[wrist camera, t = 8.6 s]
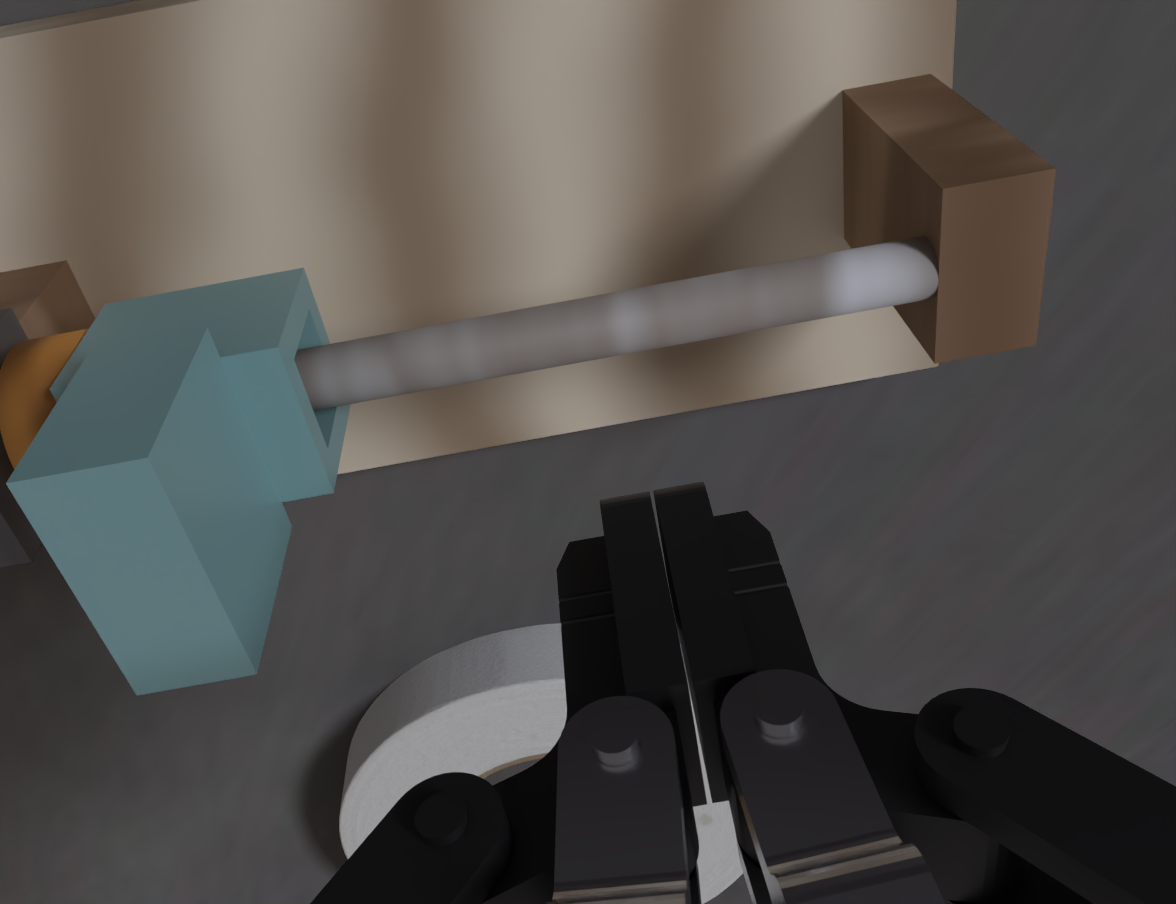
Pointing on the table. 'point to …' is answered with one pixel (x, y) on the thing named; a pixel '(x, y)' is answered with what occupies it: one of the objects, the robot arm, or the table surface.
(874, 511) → the table surface
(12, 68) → the cable board
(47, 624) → the table surface
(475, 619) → the table surface
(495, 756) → the roll of tape
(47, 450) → the teal stepped block
